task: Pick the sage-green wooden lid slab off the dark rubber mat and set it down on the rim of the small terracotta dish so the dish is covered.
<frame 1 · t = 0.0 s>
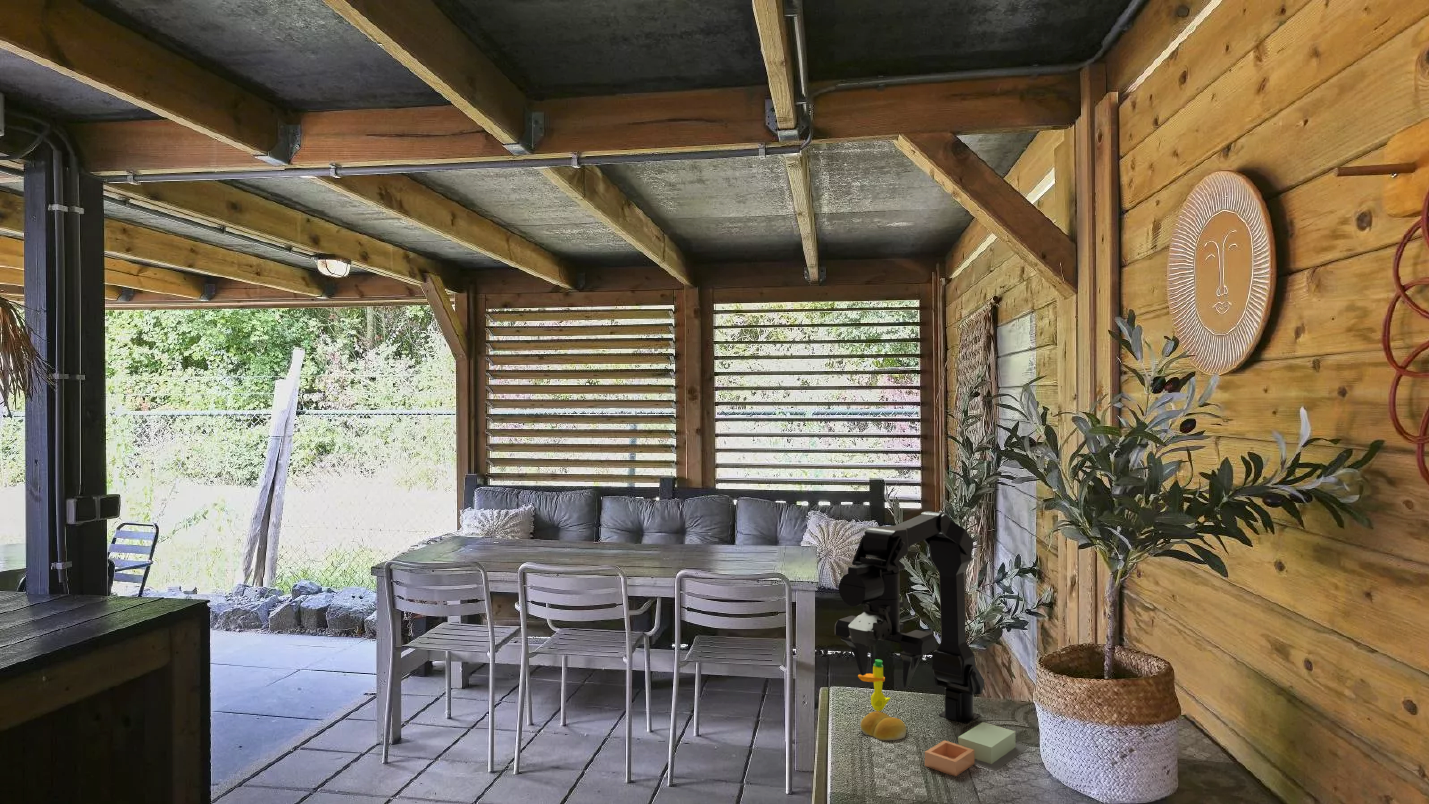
hand: (884, 680, 146), 15 cm above the table, fingers open, 9 cm apart
dish: (949, 767, 143), on the table
toy figure: (874, 717, 167), on the table
lid: (987, 750, 149), resting on mat
bread roll: (883, 735, 159), on the table
mat: (987, 752, 149), on the table
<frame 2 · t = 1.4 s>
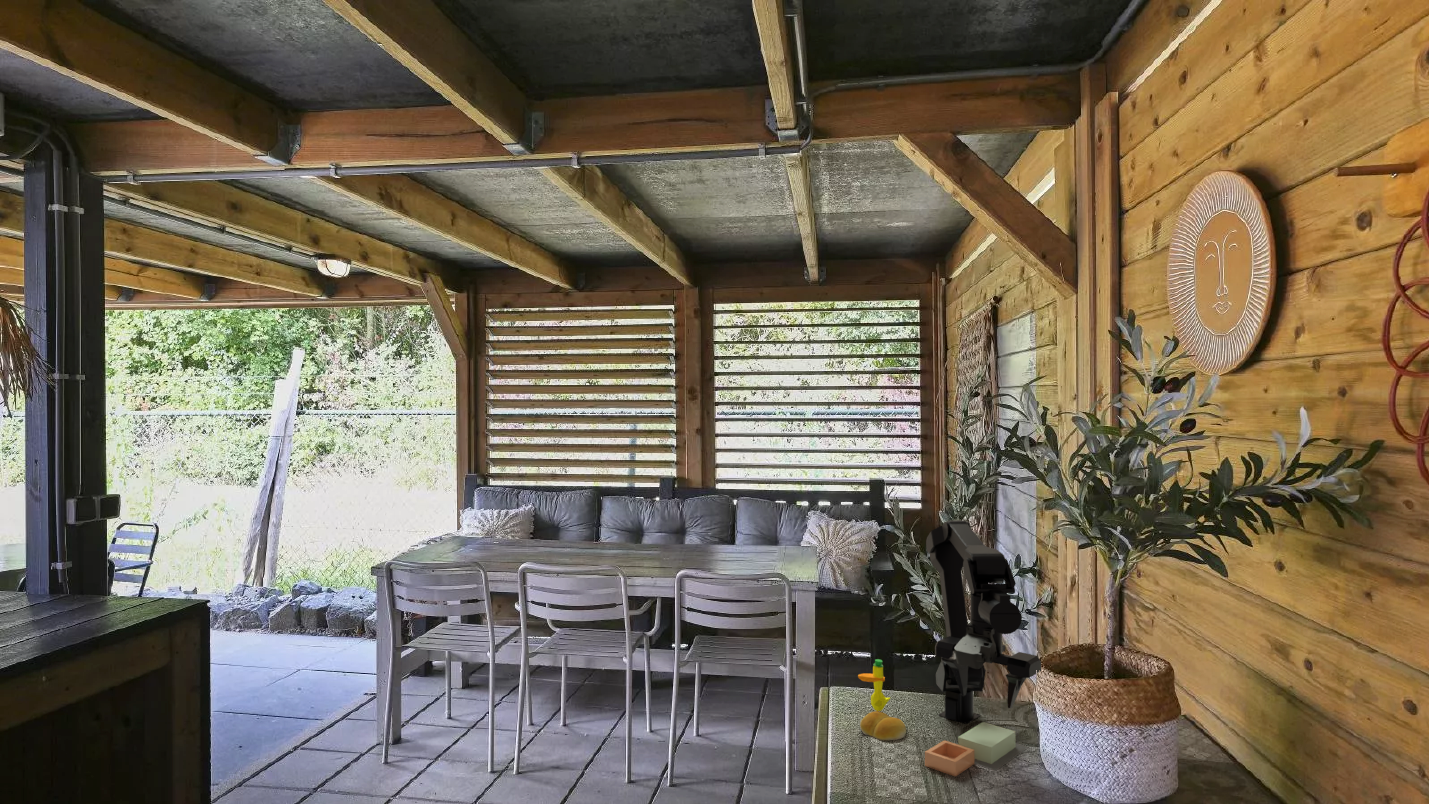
hand: (986, 701, 150), 10 cm above the table, fingers open, 9 cm apart
nothing on the table moved.
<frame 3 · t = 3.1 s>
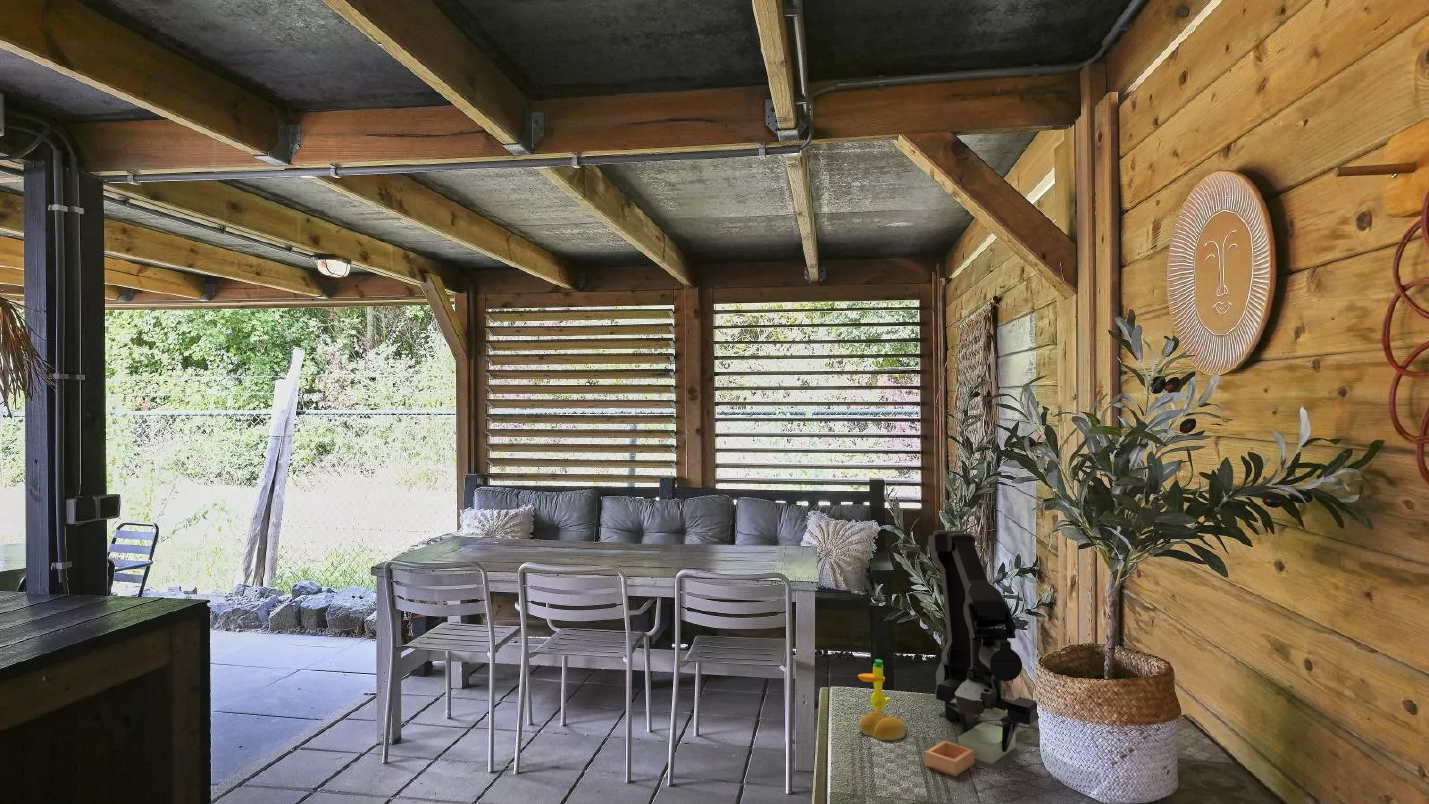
hand: (987, 745, 149), 1 cm above the table, fingers closed on lid, 6 cm apart
lid: (987, 750, 149), resting on mat, touching gripper
everything else where it was.
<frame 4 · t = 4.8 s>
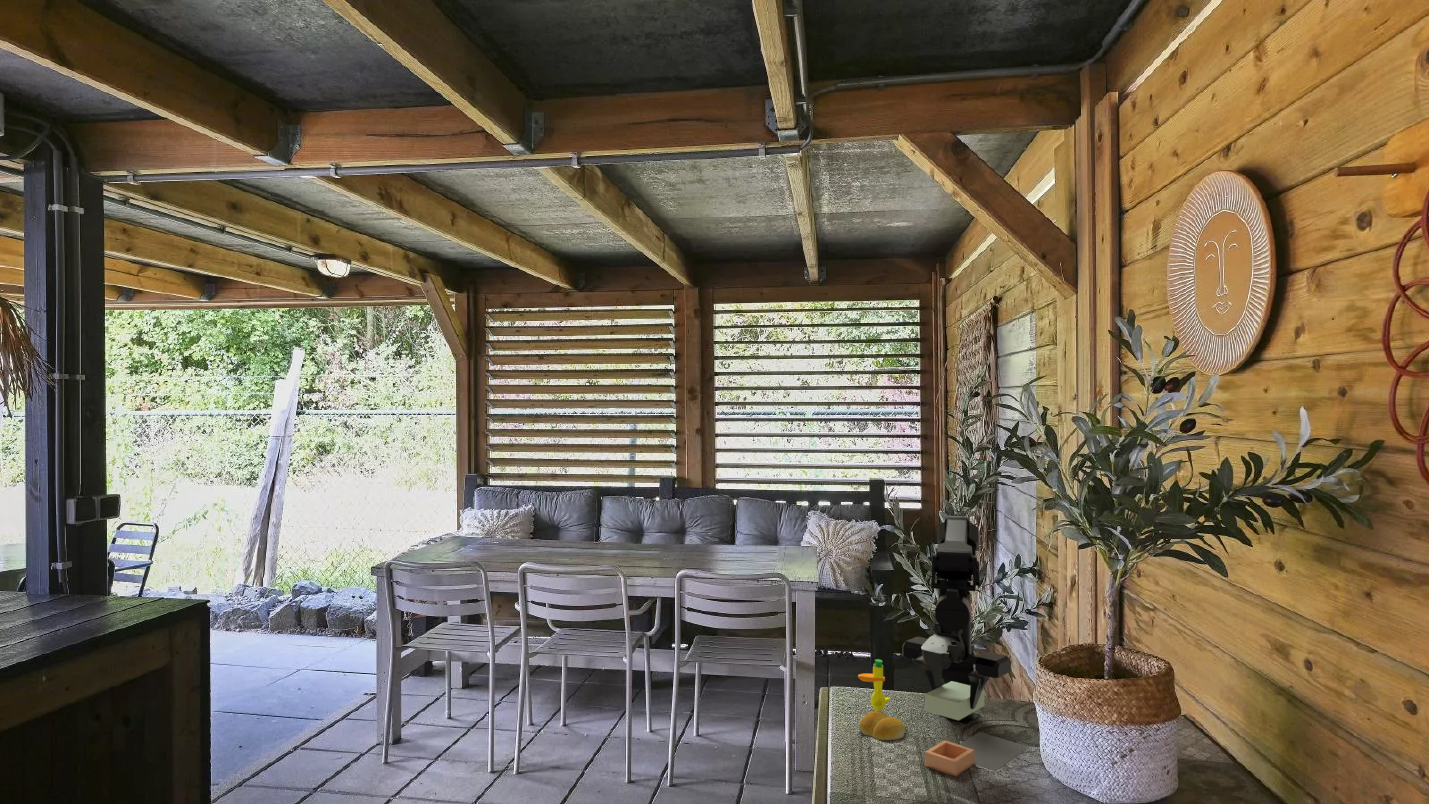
hand: (954, 703, 144), 11 cm above the table, fingers closed on lid, 6 cm apart
lid: (955, 708, 144), point 11 cm above the table, touching gripper
everything else where it was.
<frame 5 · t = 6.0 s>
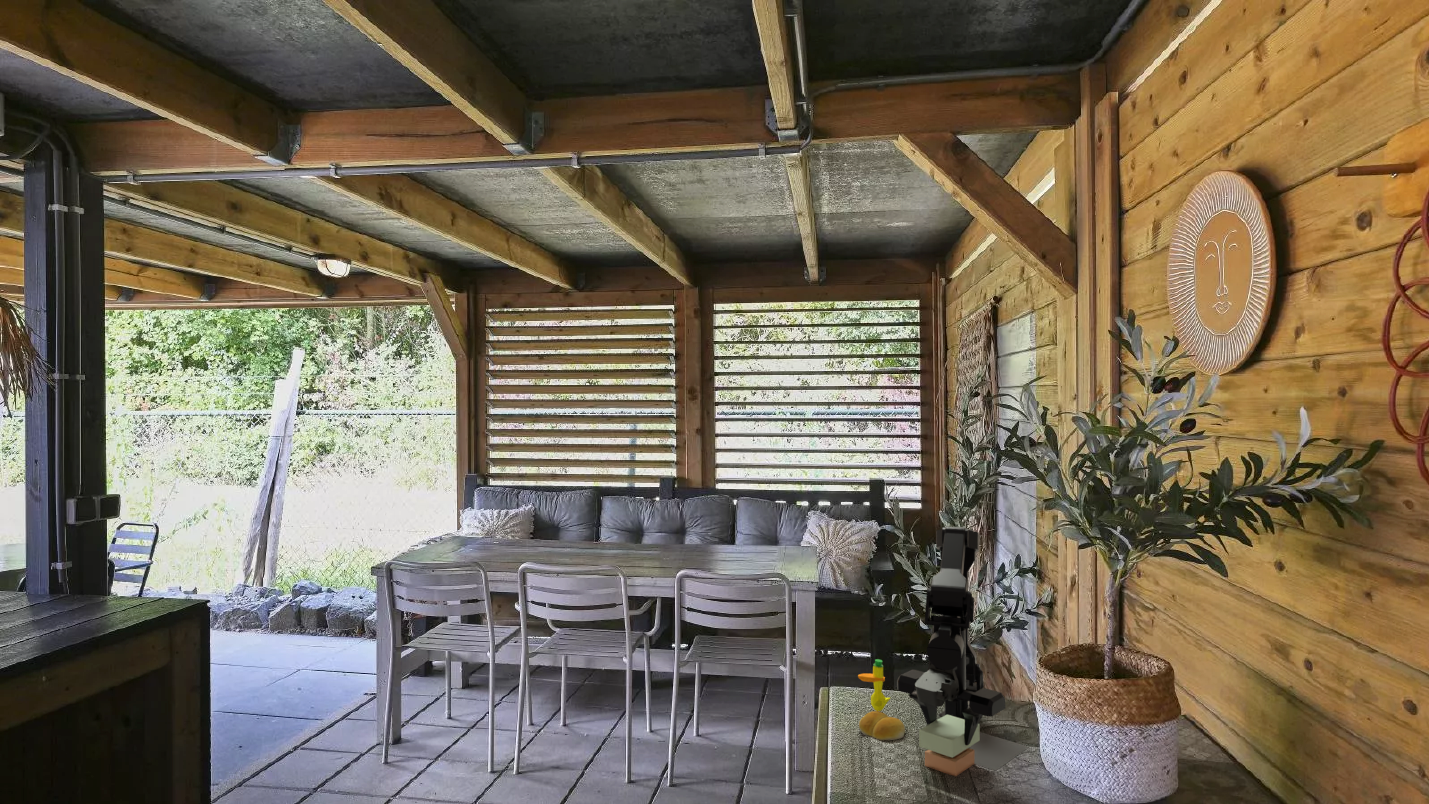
hand: (949, 739, 144), 5 cm above the table, fingers closed on lid, 6 cm apart
lid: (949, 743, 144), point 4 cm above the table, touching gripper
everything else where it was.
when the fingers open (5 cm above the table, at t = 7.0 s): lid stays where it is, resting on dish.
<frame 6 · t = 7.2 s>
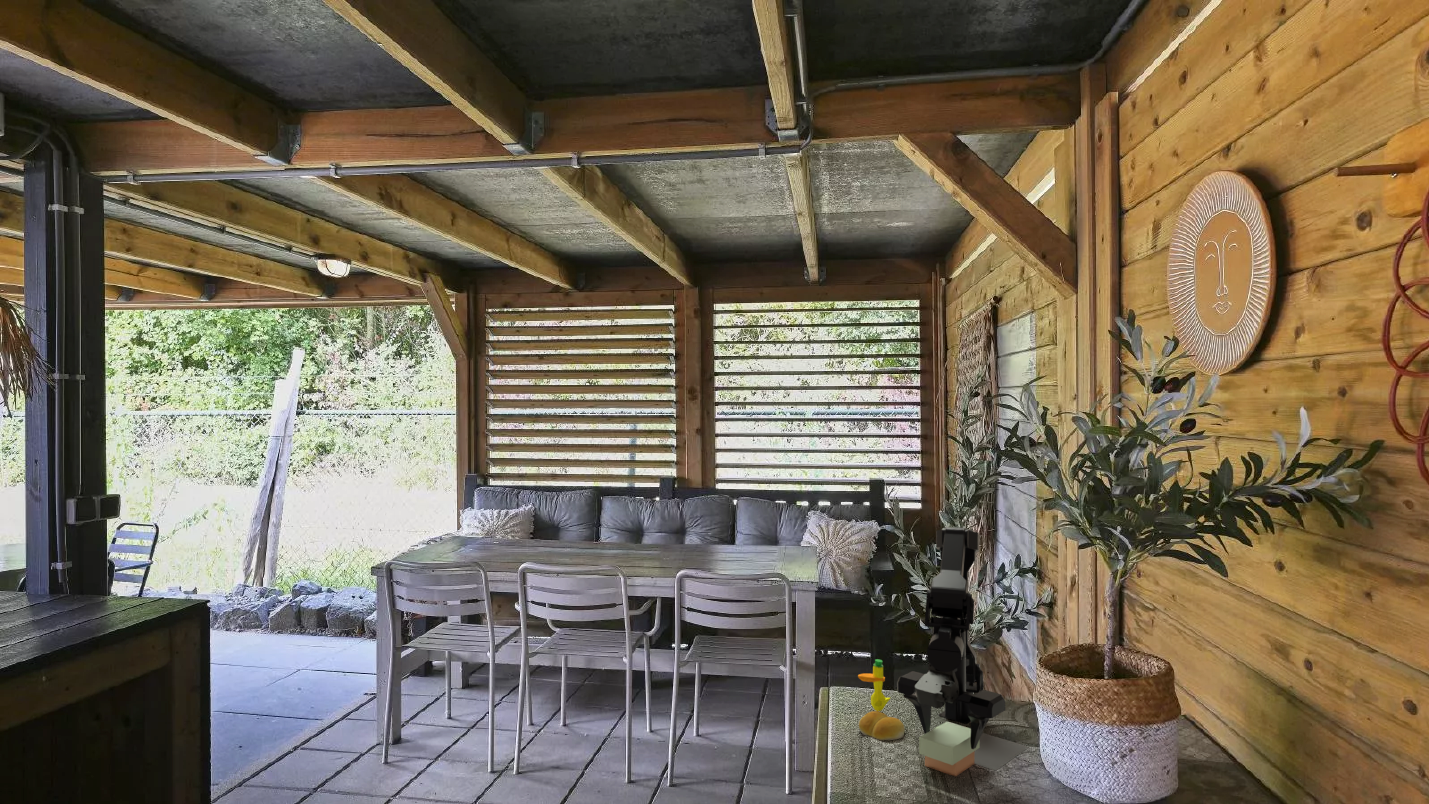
hand: (949, 740, 143), 5 cm above the table, fingers open, 9 cm apart
lid: (949, 750, 143), point 3 cm above the table, touching dish
everything else where it was.
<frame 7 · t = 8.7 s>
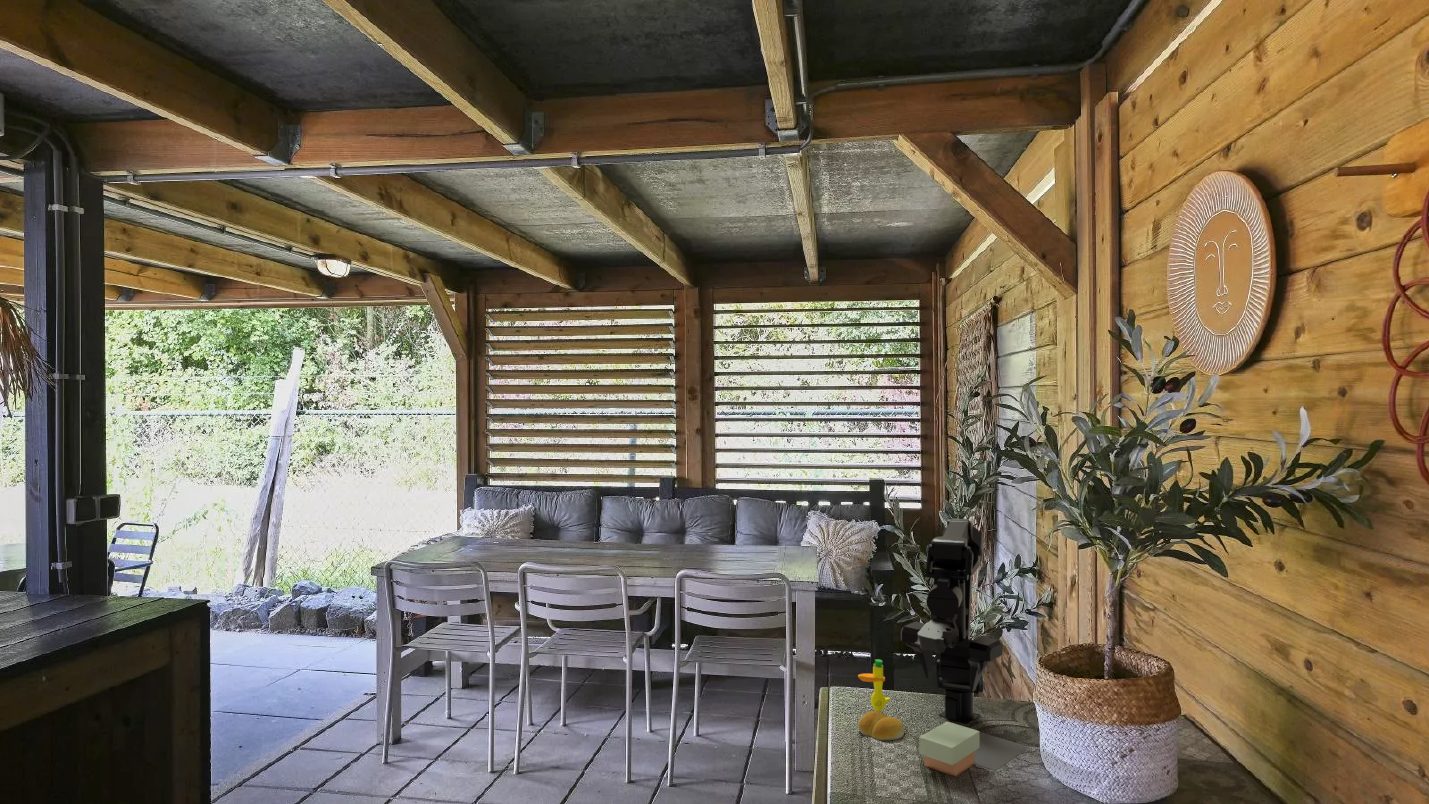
hand: (950, 684, 153), 12 cm above the table, fingers open, 9 cm apart
nothing on the table moved.
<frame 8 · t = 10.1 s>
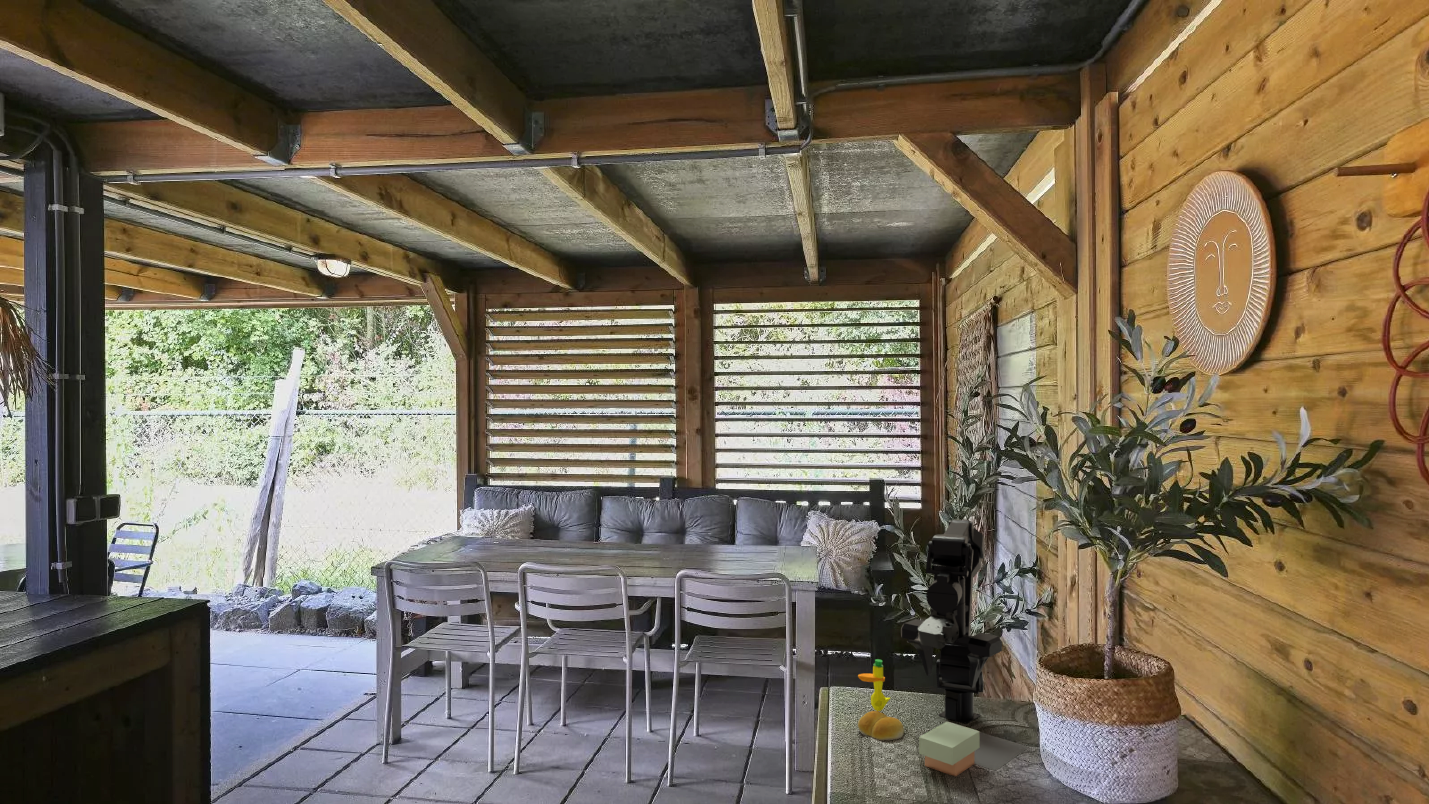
hand: (950, 681, 154), 12 cm above the table, fingers open, 9 cm apart
nothing on the table moved.
at the end: lid 0.0 cm off-centre on the dish, point 3.0 cm above the dish's base; lid touching dish; the gripper is holding nothing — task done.
